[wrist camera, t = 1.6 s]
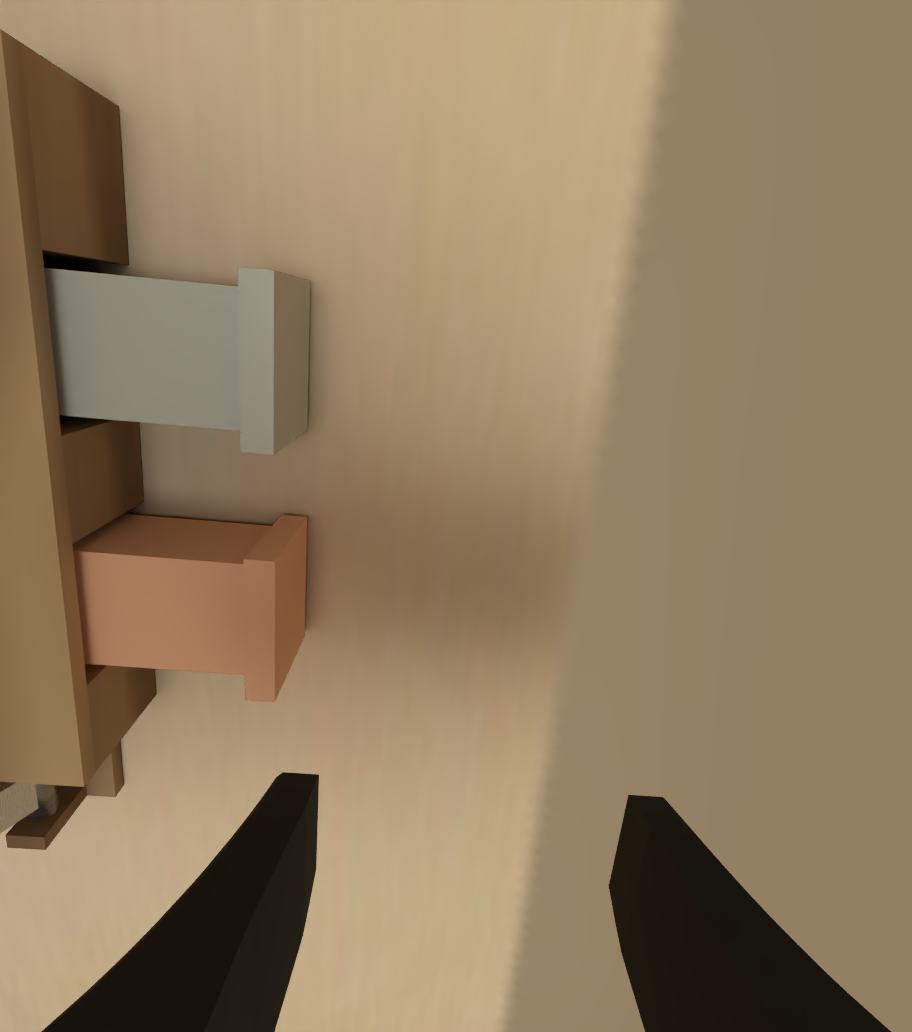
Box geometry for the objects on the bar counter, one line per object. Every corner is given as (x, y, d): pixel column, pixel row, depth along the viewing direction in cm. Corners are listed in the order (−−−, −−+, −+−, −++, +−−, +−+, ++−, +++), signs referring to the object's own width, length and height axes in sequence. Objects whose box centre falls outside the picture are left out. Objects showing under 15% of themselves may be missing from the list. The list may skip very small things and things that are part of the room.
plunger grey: (310, 281, 17) (273, 270, 14) (307, 428, 19) (273, 455, 15) (67, 257, 17) (-35, 240, 13) (80, 409, 18) (-10, 430, 15)
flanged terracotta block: (307, 516, 19) (275, 561, 16) (304, 635, 21) (274, 702, 17) (90, 498, 19) (7, 540, 16) (102, 620, 20) (27, 684, 17)
